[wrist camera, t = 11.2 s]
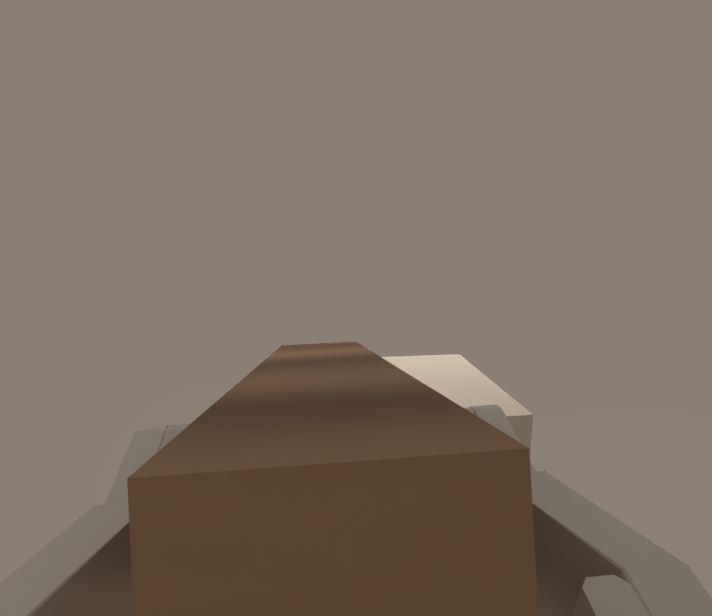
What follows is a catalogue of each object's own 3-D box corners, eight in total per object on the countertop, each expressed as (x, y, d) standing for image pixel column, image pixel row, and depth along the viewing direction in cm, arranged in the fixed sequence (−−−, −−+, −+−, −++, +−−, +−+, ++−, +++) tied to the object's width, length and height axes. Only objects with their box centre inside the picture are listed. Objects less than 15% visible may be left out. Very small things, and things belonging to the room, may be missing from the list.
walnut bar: (551, 842, 4) (530, 447, 4) (146, 898, 4) (127, 478, 4) (359, 414, 22) (355, 341, 22) (285, 419, 22) (281, 345, 22)
